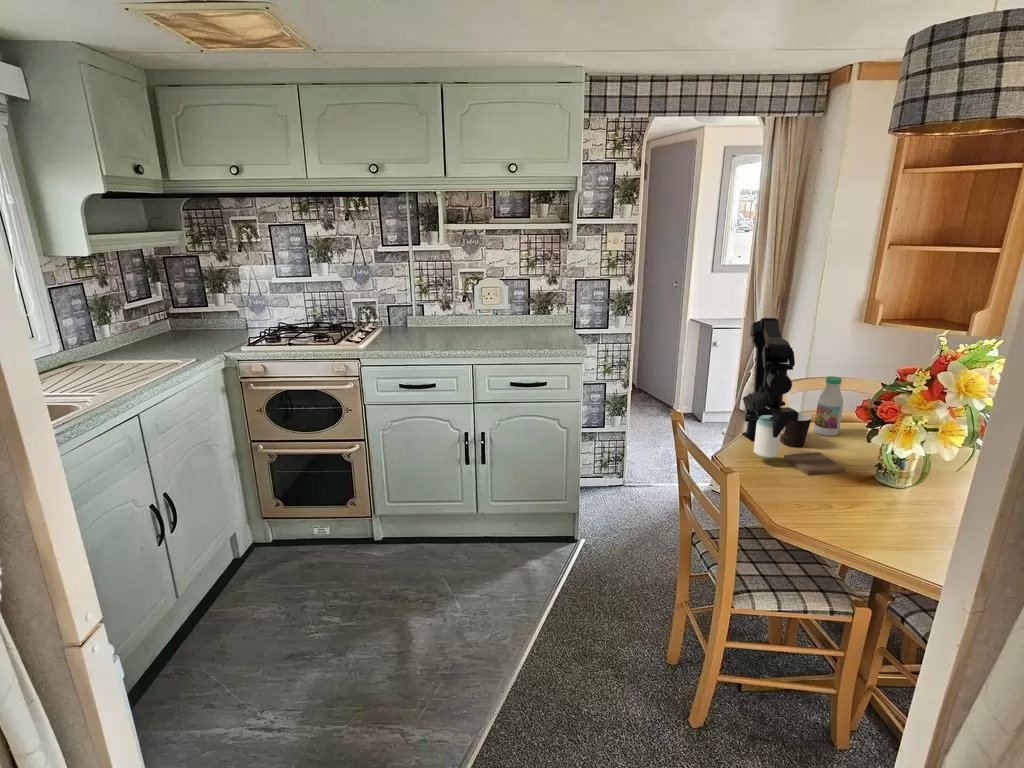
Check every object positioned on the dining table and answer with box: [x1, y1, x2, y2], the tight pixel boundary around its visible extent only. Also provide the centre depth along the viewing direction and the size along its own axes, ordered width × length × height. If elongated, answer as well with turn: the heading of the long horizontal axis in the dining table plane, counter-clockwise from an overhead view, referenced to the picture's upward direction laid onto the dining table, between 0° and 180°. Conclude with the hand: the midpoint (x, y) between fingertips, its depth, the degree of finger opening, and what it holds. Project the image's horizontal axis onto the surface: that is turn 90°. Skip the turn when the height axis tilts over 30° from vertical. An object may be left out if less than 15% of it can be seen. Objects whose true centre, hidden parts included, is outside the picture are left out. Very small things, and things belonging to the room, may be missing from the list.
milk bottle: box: [813, 375, 844, 437], centre depth 197 cm, size 8×8×20 cm
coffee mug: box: [782, 411, 812, 449], centre depth 191 cm, size 12×9×10 cm
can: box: [753, 415, 782, 459], centre depth 176 cm, size 7×7×12 cm
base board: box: [783, 451, 846, 476], centre depth 175 cm, size 12×12×1 cm
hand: (768, 432), depth 176 cm, fingers closed on can, 7 cm apart
